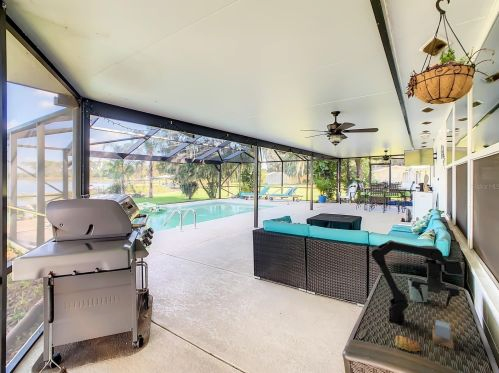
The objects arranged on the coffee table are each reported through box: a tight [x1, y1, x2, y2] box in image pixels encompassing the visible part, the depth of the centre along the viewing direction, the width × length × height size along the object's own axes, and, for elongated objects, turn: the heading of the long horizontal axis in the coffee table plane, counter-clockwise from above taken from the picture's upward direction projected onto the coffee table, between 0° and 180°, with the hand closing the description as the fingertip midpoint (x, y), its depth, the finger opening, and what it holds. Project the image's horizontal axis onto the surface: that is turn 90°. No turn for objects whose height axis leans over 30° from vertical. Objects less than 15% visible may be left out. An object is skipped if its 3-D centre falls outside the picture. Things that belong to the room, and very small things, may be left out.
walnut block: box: [431, 328, 454, 350], centre depth 111 cm, size 7×7×4 cm
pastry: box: [394, 335, 421, 352], centre depth 108 cm, size 9×7×4 cm
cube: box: [434, 319, 451, 340], centre depth 111 cm, size 5×5×5 cm
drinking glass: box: [407, 277, 428, 304], centre depth 151 cm, size 10×10×12 cm
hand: (434, 303), depth 121 cm, fingers open, 9 cm apart
